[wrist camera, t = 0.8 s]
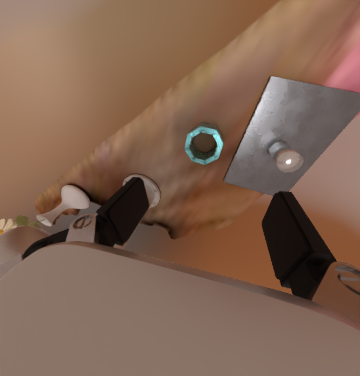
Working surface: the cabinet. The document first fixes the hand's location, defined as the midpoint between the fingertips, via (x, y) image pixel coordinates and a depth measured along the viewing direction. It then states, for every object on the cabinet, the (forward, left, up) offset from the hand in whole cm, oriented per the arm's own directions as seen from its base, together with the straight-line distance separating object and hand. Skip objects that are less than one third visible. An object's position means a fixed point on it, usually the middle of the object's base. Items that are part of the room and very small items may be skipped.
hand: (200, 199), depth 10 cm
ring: (-3, +1, -22) cm, 22 cm away
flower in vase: (-35, +44, -22) cm, 60 cm away
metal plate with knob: (-1, -13, -22) cm, 26 cm away
